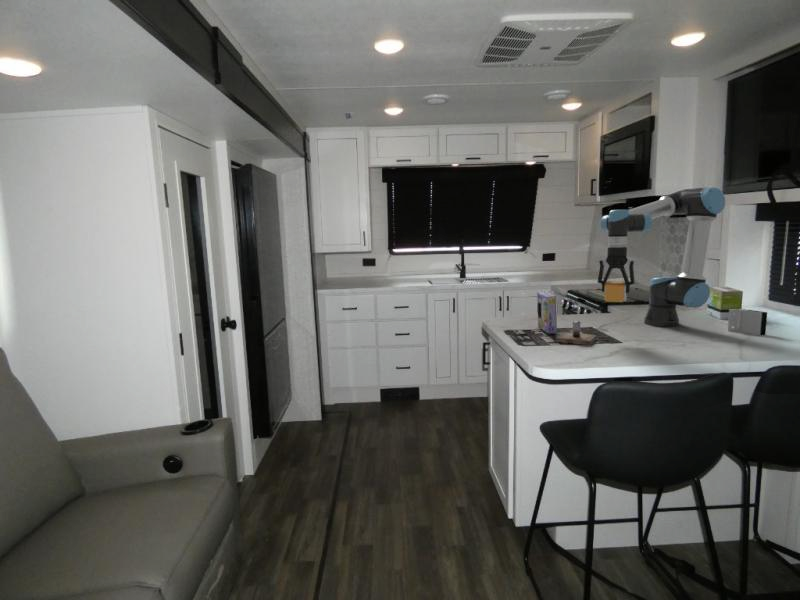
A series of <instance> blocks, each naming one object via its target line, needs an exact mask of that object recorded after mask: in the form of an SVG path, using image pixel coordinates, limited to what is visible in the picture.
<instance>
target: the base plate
mask: <svg viewBox="0 0 800 600" xmlns="http://www.w3.org/2000/svg"><path fill="white" fill-rule="evenodd" d="M595 340H596V341H597V334H586V333H580V337H573V332H569V331H568V332H565V331H563V332H562V333H560V334H559V335H558V336H555V342H556V343H559V342H562V343H561V344H568V343H573V344H572V345H578V344H583V345H582V346H587V345H590V346H591V345H592V344H594V343H595V342H596V341H595ZM594 341H595V342H594Z"/></svg>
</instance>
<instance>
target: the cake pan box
mask: <svg viewBox="0 0 800 600" xmlns="http://www.w3.org/2000/svg"><path fill="white" fill-rule="evenodd" d="M536 294H537V295H536V296H537V297H536V298H537V301H536V302H537V305H536V306H537V309H536V310H537V311H536V312H537V327H538V328H540V329H541V330H542V331H544V332H545V333H546V334H557V331H558V330H557V329H558V328H557V327H558V325H557V324H558V323H557V321H558V320H557V296H556V295H554V294H552V293H551V292H548V291H545V290H544V291H538V292H537V293H536Z"/></svg>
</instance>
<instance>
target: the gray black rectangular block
mask: <svg viewBox="0 0 800 600" xmlns="http://www.w3.org/2000/svg"><path fill="white" fill-rule="evenodd" d="M733 313H735V315H733ZM727 320H728V321H727V322H728V323H727V332H733V333H734V332H735V333H737V332H738V333H745V334H748V335H754V334H755V336H762V335H763V336H766V331H767V320H768V312H767V311H762V310H754V309H746V308H742V309H739V310H737V309H729V319H727Z"/></svg>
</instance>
